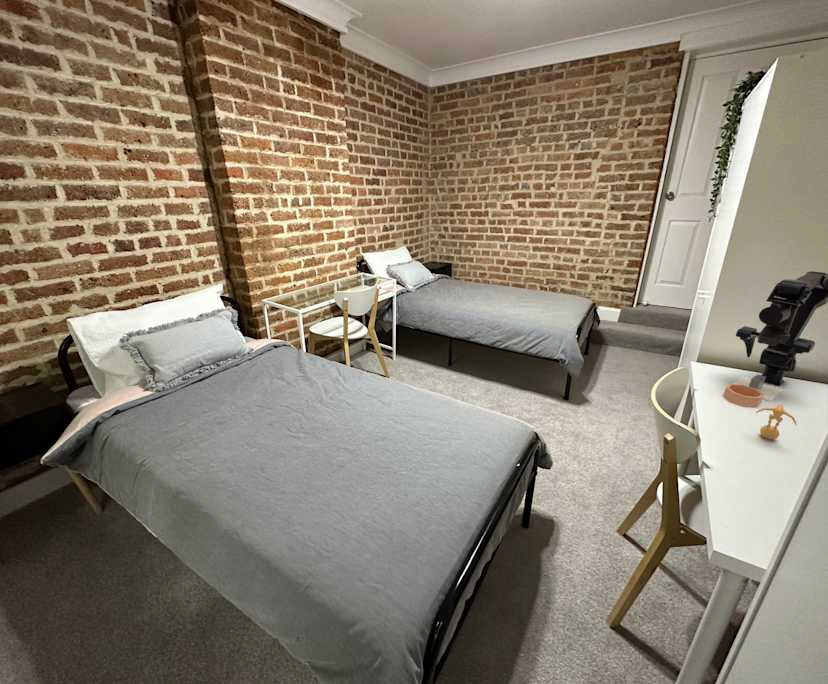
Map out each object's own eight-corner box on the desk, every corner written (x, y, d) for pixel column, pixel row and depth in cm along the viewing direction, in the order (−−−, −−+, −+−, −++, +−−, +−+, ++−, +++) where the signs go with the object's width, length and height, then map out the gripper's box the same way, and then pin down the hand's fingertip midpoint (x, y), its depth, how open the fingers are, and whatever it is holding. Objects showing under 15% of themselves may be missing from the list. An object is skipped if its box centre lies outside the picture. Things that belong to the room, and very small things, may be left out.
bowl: (729, 391, 131) (733, 381, 129) (762, 402, 124) (766, 392, 122) (719, 399, 126) (723, 389, 125) (752, 411, 119) (756, 400, 118)
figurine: (787, 441, 105) (803, 405, 100) (785, 450, 101) (801, 413, 96) (749, 428, 110) (763, 394, 106) (746, 437, 107) (760, 401, 102)
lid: (740, 378, 139) (743, 367, 137) (782, 391, 129) (787, 379, 128) (727, 387, 133) (731, 376, 131) (770, 401, 123) (775, 389, 122)
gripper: (736, 316, 124) (723, 358, 130) (813, 332, 110) (794, 378, 116) (748, 310, 130) (735, 350, 136) (823, 324, 115) (804, 369, 121)
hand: (765, 361), depth 127 cm, fingers open, 9 cm apart
